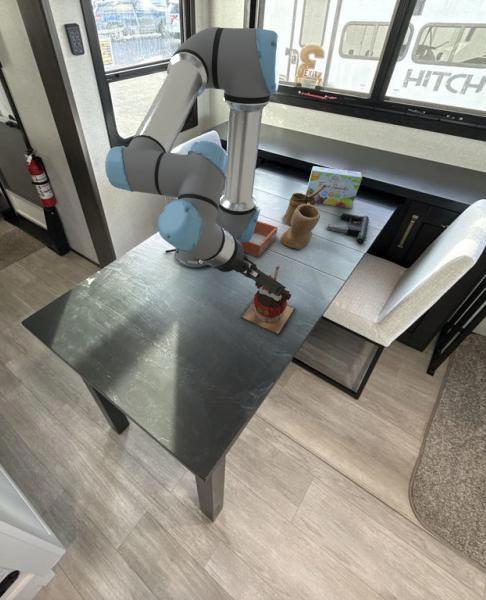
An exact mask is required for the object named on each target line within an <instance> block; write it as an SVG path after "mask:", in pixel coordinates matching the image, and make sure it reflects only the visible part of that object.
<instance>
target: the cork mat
mask: <svg viewBox="0 0 486 600" xmlns="http://www.w3.org/2000/svg"><path fill="white" fill-rule="evenodd" d="M253 305H254V301H253V302H252V303H251V304H250V306H249V307H248V308H247V309H246V311H245V312H244V313H243V315H242V316H241V318H242V319H244V320H246V321H248V322H250V323H253V324H255V325H256V326H258V327H261V328H263V329H265V330H268V331H270V332H272V333H274V334H276V335H280V332H281V331H282V329H283V328H284V327H285V325H286V323H287V322H288V320H289V318H290V316H291V315H292V313H293V312H294V311H295V308H294V307H291V306H289V305H287V306H286V309H285V310H284V311H283V312H284V315H283V317H282V318H281V319H278V320H277V321H274V322H272V321H271V322H268V321H262V320H260V319H258V318H257V316H256V315H254V314H255V313H254V311H253V308H254V307H253Z"/></svg>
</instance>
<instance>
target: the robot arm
mask: <svg viewBox="0 0 486 600" xmlns="http://www.w3.org/2000/svg"><path fill="white" fill-rule="evenodd" d="M166 69H167V70H166V74H167V75H166V77H165V79H164V81H163V82H162V85H161V87H160V88H159V90H158V91H157V94H156V95H155V97H154V99H153V100H152V102H151V104H150V106H149V109H148V110H147V112H146V114H145V116H144V117H143V119H142V120H141V123H140V124H139V126H138V129H137V130H136V133H135V134H134V135H133V138H132V139H131V141H130V142H129V145H128V146H127V147H126V146H124V145H120V146H113V147H112V148H109V150H108V152H107V154H106V157H105V162H104V168H105V174H106V177H107V179H108V182H109V183H110V185H111V186H113V187H114V188H116V189H120V190H124V191H129V192H131V193H135V192H136V193H143V194H151V195H159V196H163V197H171V198H176V199H173V200H171V201H170V202H168V203H167V204H166V205H165V206H164V208H163V211H162V213H161V212H160V214H159V216H158V220H157V230H158V233H159V235H160V237H161V238H162V239H163V240H164V241H165V242H166V243H168V244H169V245H171V246H172V247H174V248H172V249H166V250H165V254H169V253H174V252H175V258H176V261H177V262H178V263H179V264H180V265H182V266H183V267H185V268H190V269H203V268H206V267H209V266H211V267H212V268H214V269H215V270H217V271H219V272H221V273H231V272H232V271H235V272H236V273H239V274H241V275H242V276H244V277H246V278H248V279H251V280H253V282H255V283H256V282H257V283H259V284H260V285H262V286H263V287H265V288H266V289H268V290H269V291H268V293H269V294H270V295H271V293H274V295H276V296H280V295H281V293H282V292H283V291H284V289H285V290H286V288H287V286H285V285H283V284H282V283H280V282H279V281H278V280H275V279H274V280H273V279H272V278H270V277H269V276H268V275H266V274H265V272H264V271H262V270H261V269H259V268H258V267H257V264H256V263H255V262H253V261H252V260H250V259H249V257H248V256H246V255H245V252H244V248H243V246H242V244H241V242H249V241H252V239H253V236H254V233H255V232H254V230H255V226H256V223H257V221H259V220H258V219H259V216H260V213H261V208H260V207H259V206H257V200H256V198H255V197H254V196H253V194H254V185H255V178H256V177H255V176H256V168H257V160H258V153H259V152H258V151H259V144H260V137H261V136H260V135H261V126H262V120H263V119H262V118H263V110H264V108H265V107H266V106H267V105H268V104H269V103H270V102H271V95H274V94H276V93H277V92H278V89H279V81H280V72H281V42H280V36H279V34H278V32H276V31H275V30H270V29H266V28H264V29H263V28H260V27H257V28H256V27H255V28H254V27H253V28H249V27H248V28H247V27H219V26H212V27H207V28H204V29H201V30H199V31H198V32H196V33H195V34H193V35H190V37H189V38H188V39H186V40H185V41H183V42H182V43H181V44H180V45H179V46H178V47H177V49H176V50H175V51H174V53H173V54H172V56H171V58H170V60H169V61H168V63H167V68H166ZM207 89H215V90H222V91H223V101H224V103H226V105H227V106H228V122H227V123H228V124H227V138H226V139H227V140H226V141H227V142H226V150H225V149H224V148H223V147H222V146H221V145H219V144H218V143H216V142H213V141H210V140H200V141H195V142H193V143H192V144H191V145H190V147H189V149H188V151H187V154H185V153H183V154H182V153H177V152H176V153H175V152H172V151H173V150H174V149H173V148H174V146H175V145H176V143H177V140H178V139H179V136H180V133H181V131H182V129H183V127H184V125H185V122H186V120H187V119H188V117H189V114H190V112H191V110H192V109H193V106H194V103H195V101H196V99H197V98H198V97H200V96H202V94H203V93H204V92H205V90H207ZM223 191H224V193H223ZM222 194H223V195H222Z"/></svg>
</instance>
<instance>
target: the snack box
mask: <svg viewBox="0 0 486 600" xmlns="http://www.w3.org/2000/svg"><path fill="white" fill-rule="evenodd" d="M308 180H309V181H308V184H307V188H306V192H305V195H306V196H311V195H312V194H313V193H314V192H315V191H316V190H317V189H318V188H319V187H320V186H322V185H324V184H325V185H326V187H325V188H324V189H323V190H322V191H321V192H319V193H318V194H317V195H316V196H314V198H315V204H319V205H327V206H332V207H337V208H345V209H351V208H352V207H353V204H354V202H355V199H356V196H357V193H358V190H359V188H360V185H361V183H362V180H363V173H362V172H361V171H351V170H344V169H336V168H329V167H323V166H316V165H313V166H312V168H311V172H310V176H309V179H308Z"/></svg>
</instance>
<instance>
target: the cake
mask: <svg viewBox="0 0 486 600" xmlns="http://www.w3.org/2000/svg"><path fill="white" fill-rule="evenodd" d="M279 271H280V265H278V264H277V265H276V266H275V271H274V275H273V276H272V275H271V274H269V272H266V271H264V273H265V274H266V275H268V276H269V277H270V278H272V279H273V280H274V279H275V280H276V281H278V275H279ZM254 286H255V287H256V289H258V290H257V291H256V292H255V293H254V297H253V302H254V305H253V307H254V308H253V311H254V313H255V314H254V315H256V316H257V318H258V319H260V320H262V321H268V322H271V321H272V322H274V321H277V320H278V319H281V318H282V317H283V315H284V312H283V311H284V310H285V309H286V306H288V301H289V300H290V299H291V297H292V294H291V293H290V291H289V290H287V289H286V288H285V289H284V291H283V292H282V293H281V295H280V296H276V295H274V293H271V295H270V294H269V293H268V291H269V290H268V289H266V288H265V287H263V286H262V285H260V284H259V283H257V282H256V281H255V284H254Z"/></svg>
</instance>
